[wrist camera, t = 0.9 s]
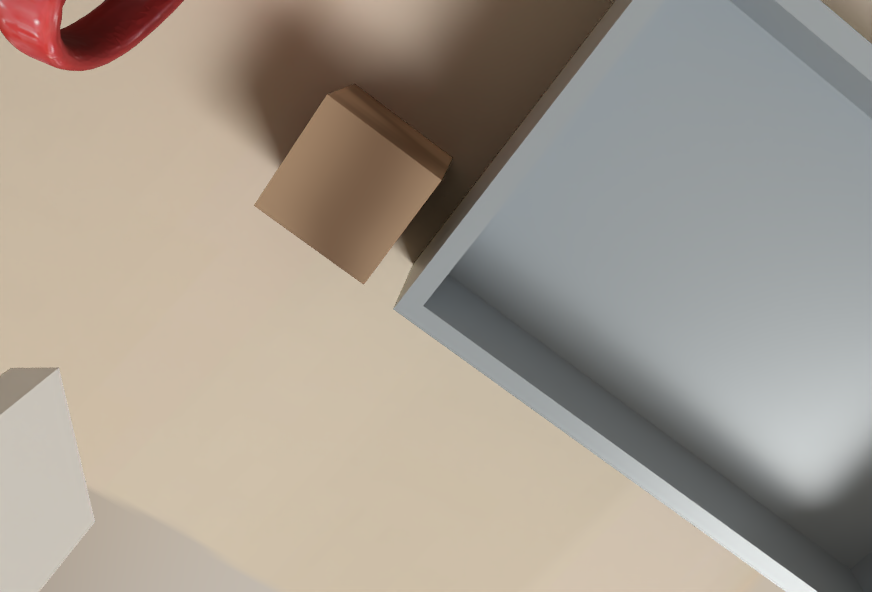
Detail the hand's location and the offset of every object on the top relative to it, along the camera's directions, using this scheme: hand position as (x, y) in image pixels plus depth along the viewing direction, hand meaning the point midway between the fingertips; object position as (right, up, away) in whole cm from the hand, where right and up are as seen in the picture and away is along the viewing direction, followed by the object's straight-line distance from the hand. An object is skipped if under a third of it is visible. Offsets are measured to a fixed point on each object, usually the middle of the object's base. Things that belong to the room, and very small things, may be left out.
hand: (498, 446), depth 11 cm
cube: (-4, +8, +22) cm, 23 cm away
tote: (+13, +2, +22) cm, 25 cm away
